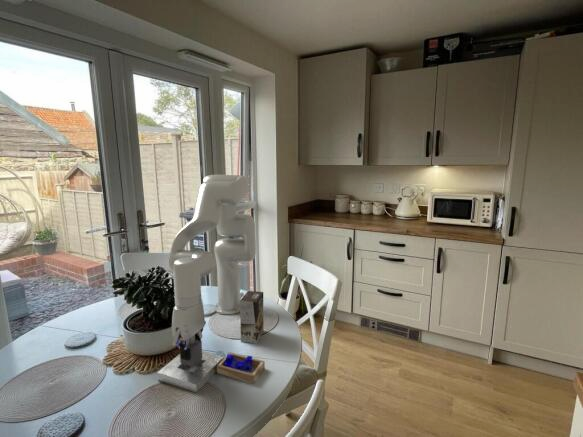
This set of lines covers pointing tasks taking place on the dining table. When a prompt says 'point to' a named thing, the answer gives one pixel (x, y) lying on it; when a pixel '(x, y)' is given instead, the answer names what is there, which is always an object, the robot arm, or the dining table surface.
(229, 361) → the cable holder
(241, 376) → the tidy tray
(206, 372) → the socket plate
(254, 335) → the coffee box
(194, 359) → the plug
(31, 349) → the dining table surface
